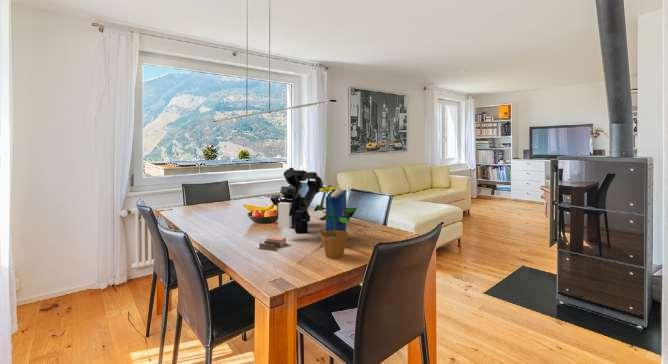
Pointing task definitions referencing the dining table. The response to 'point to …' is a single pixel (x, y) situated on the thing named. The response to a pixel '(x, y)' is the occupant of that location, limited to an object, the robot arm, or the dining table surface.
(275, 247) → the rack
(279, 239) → the offcut top
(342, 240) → the potted plant
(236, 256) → the dining table surface
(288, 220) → the tall white pillar
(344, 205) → the book
